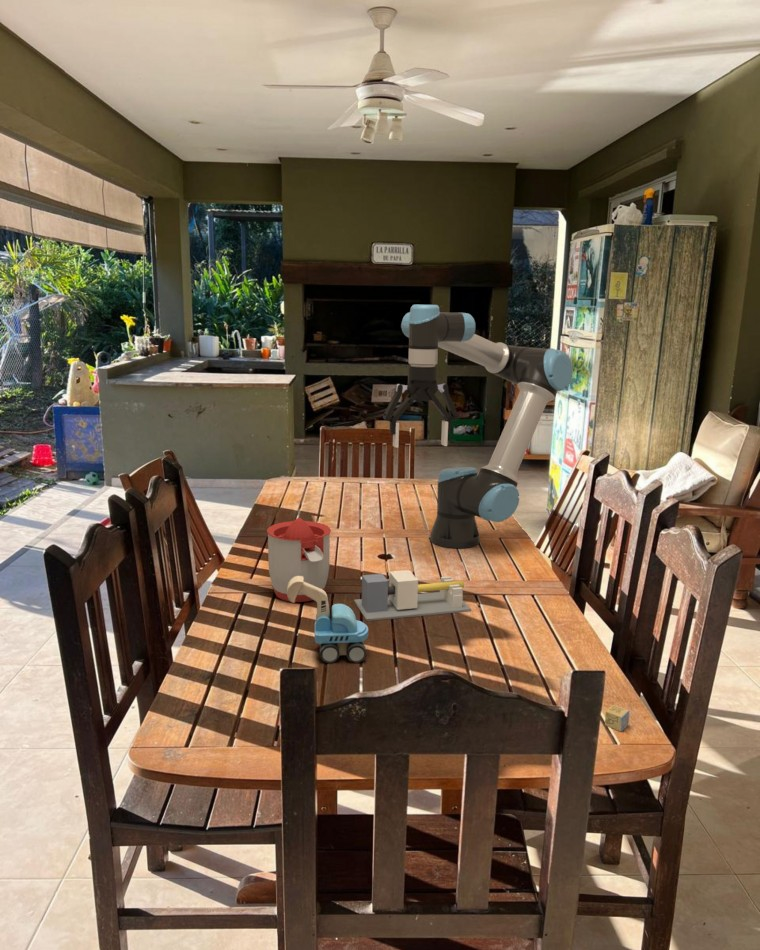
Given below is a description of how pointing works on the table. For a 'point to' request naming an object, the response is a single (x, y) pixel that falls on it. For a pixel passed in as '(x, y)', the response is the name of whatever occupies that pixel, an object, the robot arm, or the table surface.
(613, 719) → the alphabet block
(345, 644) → the toy excavator
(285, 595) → the citrus juicer
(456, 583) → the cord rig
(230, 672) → the table surface
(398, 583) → the sleeve
